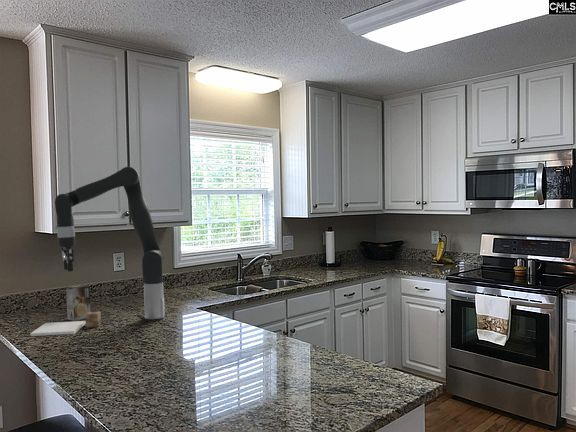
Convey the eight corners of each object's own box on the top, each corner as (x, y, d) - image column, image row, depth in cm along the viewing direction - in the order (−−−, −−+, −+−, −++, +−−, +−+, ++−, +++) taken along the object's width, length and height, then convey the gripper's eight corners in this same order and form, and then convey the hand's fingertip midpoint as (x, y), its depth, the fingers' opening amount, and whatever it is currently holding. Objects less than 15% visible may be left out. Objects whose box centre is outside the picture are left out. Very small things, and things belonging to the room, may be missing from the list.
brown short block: (100, 324, 226) (100, 311, 226) (98, 326, 221) (97, 313, 221) (89, 324, 225) (89, 312, 225) (86, 327, 220) (86, 314, 220)
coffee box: (84, 315, 243) (83, 284, 242) (91, 317, 239) (90, 285, 238) (66, 319, 236) (65, 287, 235) (73, 321, 232) (72, 288, 231)
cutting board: (85, 323, 227) (85, 320, 227) (74, 333, 209) (74, 331, 209) (45, 325, 225) (45, 322, 225) (30, 336, 207) (30, 333, 207)
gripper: (78, 236, 222) (80, 270, 223) (71, 234, 234) (73, 267, 235) (60, 237, 218) (62, 272, 219) (55, 236, 230) (57, 269, 230)
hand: (68, 270), depth 227 cm, fingers open, 8 cm apart
